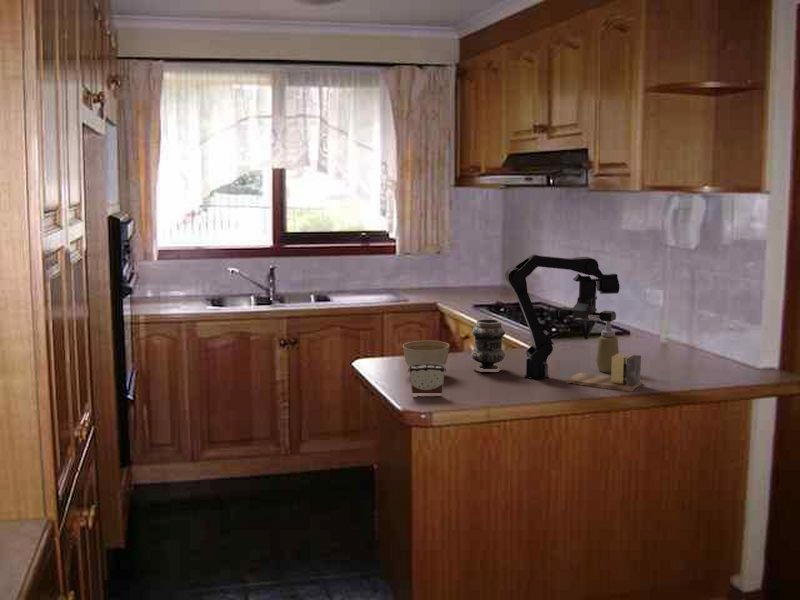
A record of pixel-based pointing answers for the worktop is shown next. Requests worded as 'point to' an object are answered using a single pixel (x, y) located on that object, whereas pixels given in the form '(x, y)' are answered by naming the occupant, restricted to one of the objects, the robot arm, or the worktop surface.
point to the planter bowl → (426, 352)
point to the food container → (427, 377)
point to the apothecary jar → (488, 343)
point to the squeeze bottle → (606, 348)
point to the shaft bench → (602, 381)
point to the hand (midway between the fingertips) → (586, 339)
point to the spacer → (618, 368)
